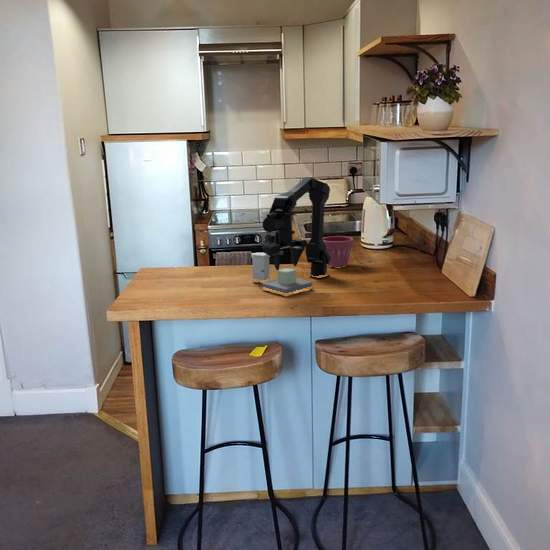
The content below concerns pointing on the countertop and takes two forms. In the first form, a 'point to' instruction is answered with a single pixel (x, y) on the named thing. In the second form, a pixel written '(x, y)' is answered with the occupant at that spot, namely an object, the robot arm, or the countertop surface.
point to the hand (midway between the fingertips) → (286, 267)
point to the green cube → (287, 276)
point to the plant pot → (338, 250)
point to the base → (287, 288)
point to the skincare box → (260, 266)
